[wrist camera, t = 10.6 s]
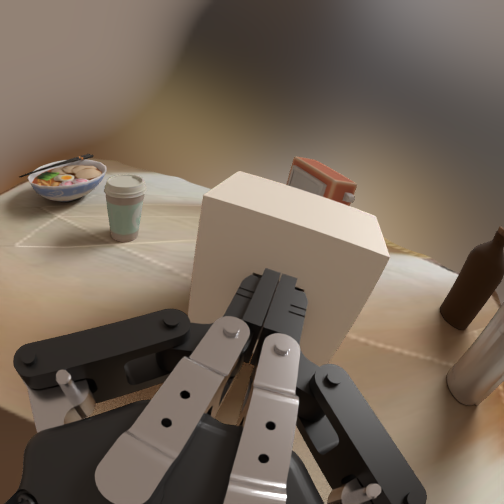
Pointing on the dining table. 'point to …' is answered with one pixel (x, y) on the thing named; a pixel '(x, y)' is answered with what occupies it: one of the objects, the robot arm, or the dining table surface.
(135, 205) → the coffee cup
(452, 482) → the dining table surface
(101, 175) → the ramen bowl
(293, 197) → the knob mount
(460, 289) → the olive oil
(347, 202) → the orange radio
